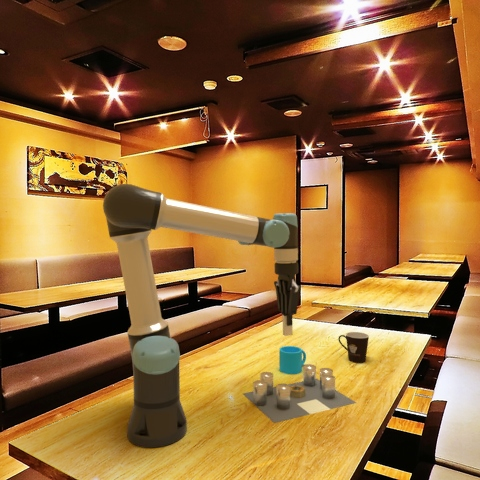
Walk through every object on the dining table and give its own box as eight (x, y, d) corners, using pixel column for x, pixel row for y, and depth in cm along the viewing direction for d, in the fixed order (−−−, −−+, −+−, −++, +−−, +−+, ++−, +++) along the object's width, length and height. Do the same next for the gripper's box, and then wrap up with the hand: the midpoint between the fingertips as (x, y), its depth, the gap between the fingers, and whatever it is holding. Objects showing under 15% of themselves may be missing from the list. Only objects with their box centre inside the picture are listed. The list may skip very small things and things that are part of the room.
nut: (297, 399, 119) (297, 392, 118) (286, 394, 122) (286, 388, 122) (308, 394, 122) (308, 388, 122) (297, 390, 125) (297, 383, 125)
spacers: (265, 414, 109) (265, 393, 109) (243, 394, 122) (243, 375, 122) (345, 395, 121) (345, 376, 121) (318, 379, 134) (318, 362, 133)
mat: (274, 425, 105) (274, 422, 105) (242, 395, 123) (242, 393, 123) (356, 404, 116) (356, 402, 116) (316, 380, 135) (316, 378, 135)
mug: (290, 378, 137) (290, 354, 136) (274, 371, 143) (274, 349, 143) (313, 369, 144) (313, 347, 144) (297, 363, 151) (297, 342, 150)
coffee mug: (373, 362, 152) (373, 336, 151) (355, 365, 148) (355, 339, 148) (354, 353, 162) (354, 329, 162) (336, 355, 159) (336, 331, 159)
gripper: (307, 262, 121) (308, 338, 122) (286, 259, 133) (287, 328, 134) (286, 264, 118) (287, 342, 119) (266, 260, 130) (268, 331, 131)
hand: (287, 334), depth 126 cm, fingers closed
